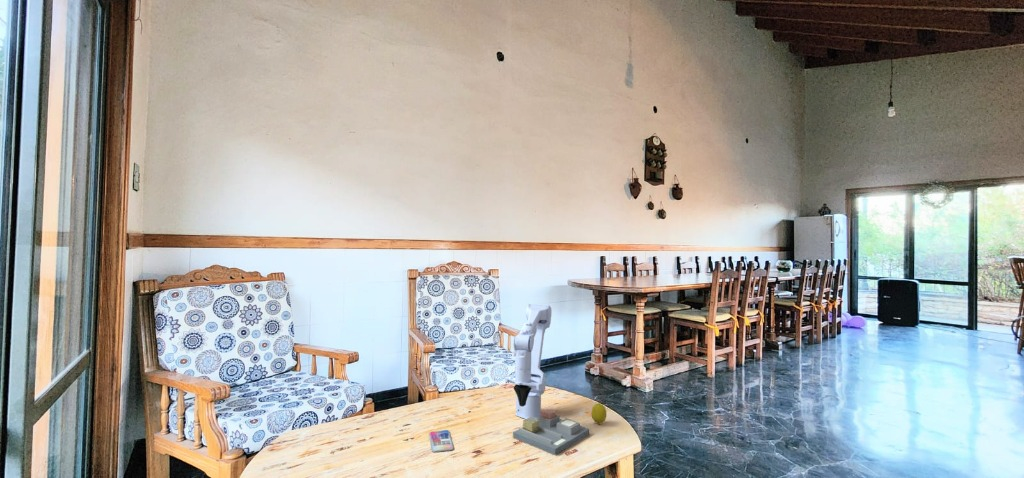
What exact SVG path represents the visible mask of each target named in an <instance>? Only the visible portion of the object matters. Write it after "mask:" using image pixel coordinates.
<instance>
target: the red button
mask: <svg viewBox="0 0 1024 478" xmlns="http://www.w3.org/2000/svg"><path fill="white" fill-rule="evenodd" d="M556 415H557V412H556V411H555V410H552V409H549V408H545V409H544V410H541V417H543V418H546V419H549V420H550V419H552V418H554V417H556Z"/></svg>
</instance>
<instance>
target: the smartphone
mask: <svg viewBox="0 0 1024 478" xmlns="http://www.w3.org/2000/svg"><path fill="white" fill-rule="evenodd" d="M428 438H429V439H428V440H429V443H430V450H431V453H434V454H435V453H445V452H452V451H454V450H455V447H454V443H453V440H452V435H451V432H450V430H449V429H444V430H436V431H434V430H433V431H430V432H429V433H428Z"/></svg>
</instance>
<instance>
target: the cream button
mask: <svg viewBox="0 0 1024 478" xmlns="http://www.w3.org/2000/svg"><path fill="white" fill-rule="evenodd" d="M570 420H571V419H570ZM570 420H565V421H563V422H561V424H563V425H566V426H569V427H572V426H573V425H575V424H576V422H577V421H576V422H573V421H574V420H573V421H570Z"/></svg>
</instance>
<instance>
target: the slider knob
mask: <svg viewBox="0 0 1024 478" xmlns="http://www.w3.org/2000/svg"><path fill="white" fill-rule="evenodd" d="M522 428H523V429H524V430H527V431H529V432H532V433H535V432H537V431H539V420H537V419H534V418H531V417H530V418H528V419H524V420H523V421H522Z"/></svg>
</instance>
